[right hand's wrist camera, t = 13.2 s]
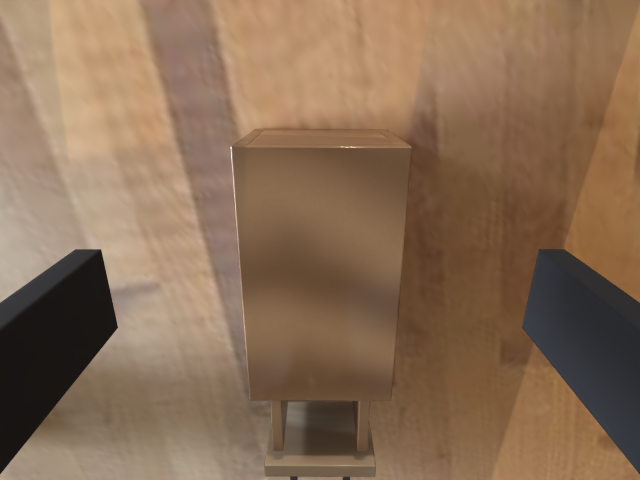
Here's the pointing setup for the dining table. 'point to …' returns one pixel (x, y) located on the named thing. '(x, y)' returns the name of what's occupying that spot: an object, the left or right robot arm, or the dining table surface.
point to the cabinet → (321, 260)
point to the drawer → (320, 440)
